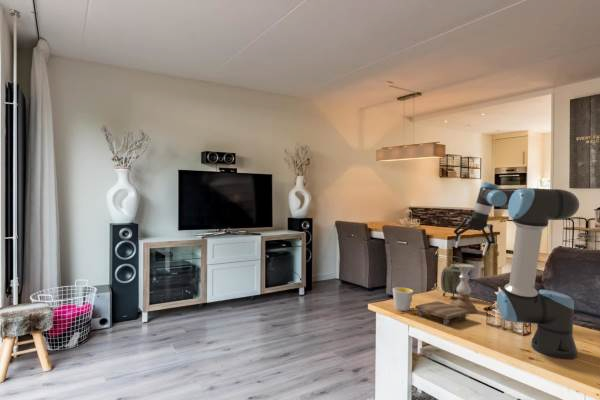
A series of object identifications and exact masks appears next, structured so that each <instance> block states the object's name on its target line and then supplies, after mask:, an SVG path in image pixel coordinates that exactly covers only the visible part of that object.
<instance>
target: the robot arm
mask: <svg viewBox="0 0 600 400" xmlns="http://www.w3.org/2000/svg"><path fill="white" fill-rule="evenodd" d="M498 187H499V186H498V184H494V183H491V182H485V181H483V182H482V183H481V185H480V188H479V192H478V196H477V198H476V202H475V205H474V211H473V212H472V215H471V218H470V219H469V218H467V217H465V218H463V221H462V222H461V223H460V224H459V225H458V226H457V227H456V228H455V229H454V230H453V234H455V239H454V240H455V246H454V247H455V249H457V248H458V246H459V243H460V239H461V235H462V234H464V233H465V232H467V231H470V230H471V229H473V230H477V231H481V232H482V233H483V235H484V237H485V239H486V242H485V245H484V248H483V252H482V256H483V257H484V256H485V255H486V252H487V251H488V250H489V249H490V247H491V245H495V244H496V240H495V235H494V230H493V228H494V226H493V224H492V223H488V221H489V218H490V215H489V214H490V213H491V210H492V207H502V206H507V210H508V211H507V212H508V216H509V217H510V218H512V223H513V224H514V225H515V226H516V227H515V228H516V229H515V235H514V244H513V251H512V259H511V266H510V267H511V268H510V274H509V275H510V276H509V280H508V281H509V282H508V283H507V284H505V285H504V289H503V290H501V291H498V292H497V294H496V303H497V309H498V312H499V314H500V316H501V318H502V319H503V320H504V321H506V322H511V323H515V324H517V323H521V324H536V325H537V326H536V330H535V332H534V335H533V337H531V341H530V343H531V348H532V349H533V350H535V351H536V352H538V353H540V354H543V355H546V356H549V357H553V358H557V359H567V360H568V359H570V360H572V359H576V358H577V357H578V348H577V345H576V341H575V340H574V339H575V338H574V336H573V331H574V330H573V329H574V312H575V304H574V303H575V302H574V299H573V298H572V297H571V296H569V295H567V294H564V293H561V292H557V291H553V290H548V289H539V290H537V289H536V288H535V285H536V284H535V283H536V279H537V277H536V276H537V272H538V263H539V257H540V248H541V243H542V242H541V241H542V235H543V230H544V229H546V228H547V227H548V226H549V221H561V220H562V221H563V220H567V219H570V218H571V217H573V216H575V214H576V213H577V212H578V211H579V209H580V201H579V198H578V197H577V196H576V195H575V193H573V192H571V191H570V190H569V191H568V190H566V189H562V188H561V189H559V188H558V189H557V188H552V189H551V188H535V187H532V188H531V187H527V188H525V187H523V188H518V189H516V190H515V189H499V188H498ZM467 223H469V225H467V226H466V227H464V226H465V225H466V224H467ZM463 227H464V228H463ZM462 228H463V229H462ZM486 228H488V230H489V235H490V238H489V236H488V234H487V232H486V230H485V229H486ZM490 239H491V240H490Z"/></svg>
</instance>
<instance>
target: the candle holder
mask: <svg viewBox="0 0 600 400" xmlns="http://www.w3.org/2000/svg"><path fill="white" fill-rule="evenodd" d="M455 267H458V268H459V270H460V271H461V274H460V276H459V278H460V280H461V282H460V284H459V285H458V286H457V288H456V291H457V292H458V293H459V294H456V296H457V297H456V298H457V299H456V300H451V301H450V302H449V303H448V304H449V305H453V306H456V307H460V308H463V309H466V310H470V314H478V309H477V308H476V306H475V305H474V304H473V303H472V302H471V301H470V294H471V293H472V289H471V287H470V285H469V282H468V281H469V279H470V276H469V272H470V271H471V270H473V269H474V270H475V268H476V265H473V264H469V263H457V264H455Z"/></svg>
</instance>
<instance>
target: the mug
mask: <svg viewBox="0 0 600 400" xmlns="http://www.w3.org/2000/svg"><path fill="white" fill-rule="evenodd" d="M392 293H393V294H392V296H393V303H394V304H393V305H394V307H395V310H396V311H399V312H407V311H409V309H410V308H411V304H412V303H411V302H412V300H413V295H414V294H413V293H414V290H413V289H412V288H408V287H397V286H396V287H393V288H392Z"/></svg>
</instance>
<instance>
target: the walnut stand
mask: <svg viewBox="0 0 600 400" xmlns="http://www.w3.org/2000/svg"><path fill="white" fill-rule="evenodd" d="M414 307H415V310H417V311H418V313H417V314H418V317H419V318H424V316H425V313H427V314H429V315H433V316H436V317H439V318H442V319H443V322H442V323H443V324H442V325H443V326H445V327H449V326H450V320H452V319H454V318H458V317H459V318H460V321H462V322H466V321H467V315H469V314H471V313H470V310H466V309H463V308H460V307H456V306H453V305H449V303H447V302H442V301H439V300H436V301H431V302H427V303H421V304H417V305H415V306H414Z"/></svg>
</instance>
